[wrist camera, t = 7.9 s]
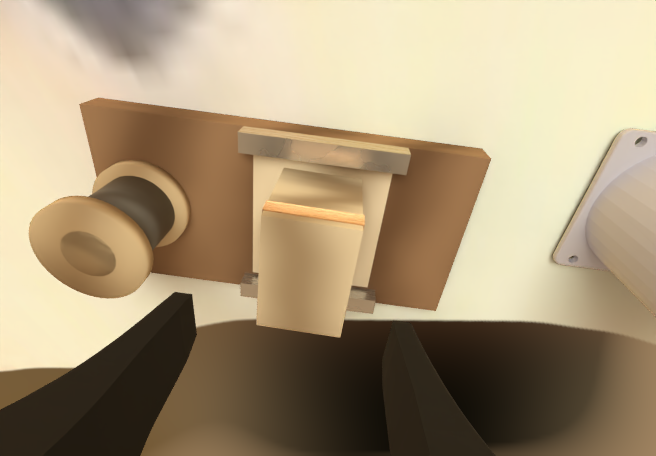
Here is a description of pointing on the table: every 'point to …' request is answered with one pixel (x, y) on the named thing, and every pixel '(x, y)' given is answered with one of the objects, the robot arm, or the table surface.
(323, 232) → the block
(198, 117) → the brown rectangular board
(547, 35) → the table surface
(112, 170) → the spool
